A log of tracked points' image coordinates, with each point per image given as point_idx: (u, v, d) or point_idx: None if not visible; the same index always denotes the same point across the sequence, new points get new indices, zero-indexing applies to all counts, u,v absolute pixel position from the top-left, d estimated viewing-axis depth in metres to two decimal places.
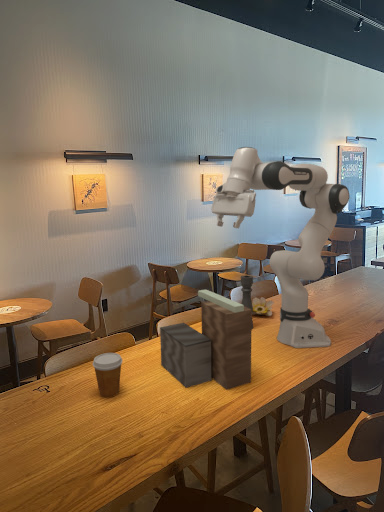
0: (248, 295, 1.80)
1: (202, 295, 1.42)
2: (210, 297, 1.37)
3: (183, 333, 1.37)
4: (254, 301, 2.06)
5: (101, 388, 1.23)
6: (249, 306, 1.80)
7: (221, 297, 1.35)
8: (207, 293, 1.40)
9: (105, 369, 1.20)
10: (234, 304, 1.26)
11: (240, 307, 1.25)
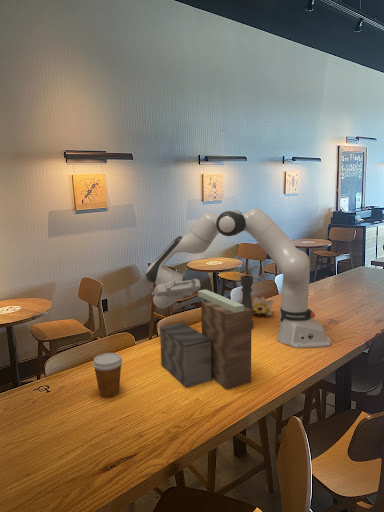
0: (248, 295, 1.80)
1: (202, 295, 1.42)
2: (210, 297, 1.37)
3: (183, 333, 1.37)
4: (254, 301, 2.07)
5: (101, 388, 1.23)
6: (249, 306, 1.80)
7: (221, 297, 1.35)
8: (207, 293, 1.40)
9: (105, 369, 1.20)
10: (234, 304, 1.26)
11: (240, 307, 1.25)
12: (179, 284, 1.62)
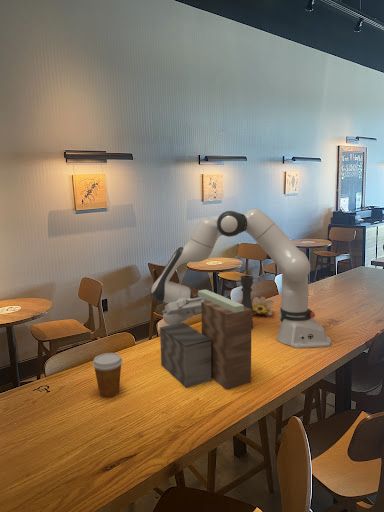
0: (248, 295, 1.80)
1: (202, 295, 1.42)
2: (210, 297, 1.37)
3: (183, 333, 1.37)
4: (254, 301, 2.07)
5: (101, 388, 1.23)
6: (249, 306, 1.80)
7: (221, 297, 1.35)
8: (207, 293, 1.40)
9: (105, 369, 1.20)
10: (234, 304, 1.26)
11: (240, 307, 1.25)
12: (191, 301, 1.54)
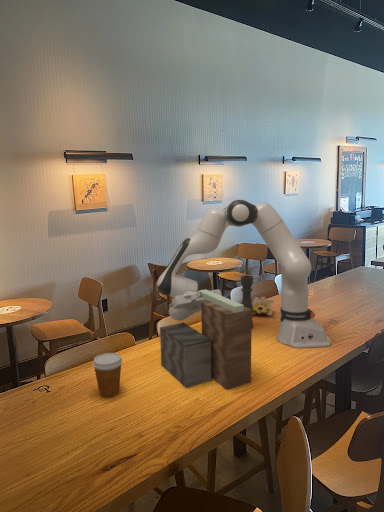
0: (248, 295, 1.80)
1: (202, 295, 1.42)
2: (210, 297, 1.37)
3: (183, 333, 1.37)
4: (255, 300, 2.08)
5: (101, 388, 1.23)
6: (249, 306, 1.80)
7: (221, 297, 1.35)
8: (207, 293, 1.40)
9: (105, 369, 1.20)
10: (233, 304, 1.26)
11: (240, 307, 1.25)
12: None
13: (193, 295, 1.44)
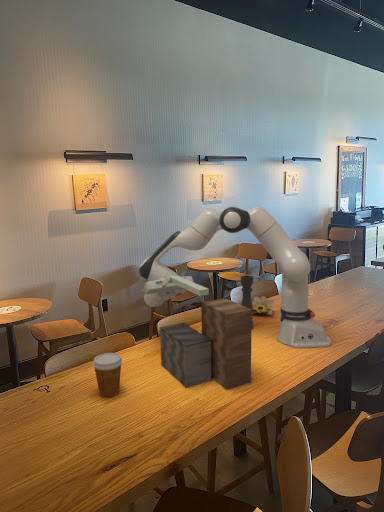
0: (248, 295, 1.80)
1: (172, 280, 1.47)
2: (179, 282, 1.41)
3: (183, 333, 1.37)
4: (255, 300, 2.08)
5: (101, 388, 1.23)
6: (249, 306, 1.80)
7: (189, 282, 1.40)
8: (177, 278, 1.45)
9: (105, 369, 1.20)
10: (199, 288, 1.31)
11: (205, 291, 1.30)
12: None
13: (164, 281, 1.48)
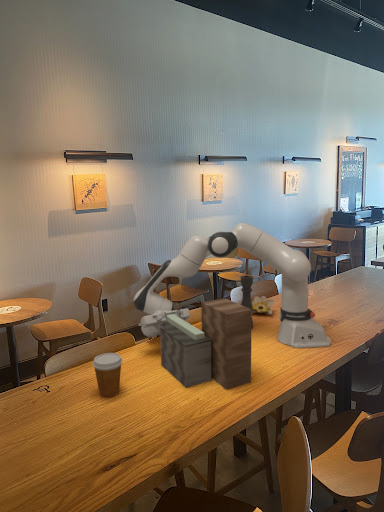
0: (248, 295, 1.80)
1: (169, 320, 1.48)
2: (175, 323, 1.43)
3: (183, 333, 1.37)
4: (255, 300, 2.09)
5: (101, 388, 1.23)
6: (249, 306, 1.80)
7: (185, 323, 1.41)
8: (173, 318, 1.47)
9: (105, 369, 1.20)
10: (195, 332, 1.32)
11: (201, 335, 1.31)
12: (167, 314, 1.54)
13: (158, 315, 1.49)
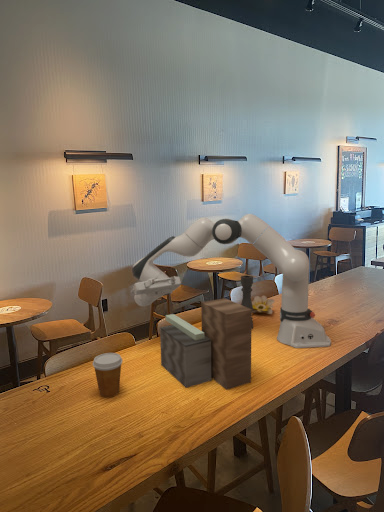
0: (248, 295, 1.80)
1: (169, 320, 1.48)
2: (175, 323, 1.43)
3: (183, 333, 1.37)
4: (255, 299, 2.10)
5: (101, 388, 1.23)
6: (249, 306, 1.80)
7: (185, 323, 1.41)
8: (173, 318, 1.47)
9: (105, 369, 1.20)
10: (195, 332, 1.32)
11: (201, 335, 1.31)
12: (159, 282, 1.58)
13: (147, 282, 1.53)
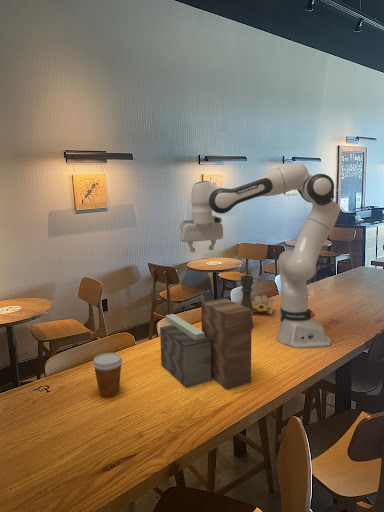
0: (248, 295, 1.80)
1: (169, 320, 1.48)
2: (175, 323, 1.43)
3: (183, 333, 1.37)
4: (256, 299, 2.10)
5: (101, 388, 1.23)
6: (249, 306, 1.80)
7: (185, 323, 1.41)
8: (173, 318, 1.47)
9: (105, 369, 1.20)
10: (195, 332, 1.32)
11: (201, 335, 1.31)
12: None
13: (190, 245, 1.64)
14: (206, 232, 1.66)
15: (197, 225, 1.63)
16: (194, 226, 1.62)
